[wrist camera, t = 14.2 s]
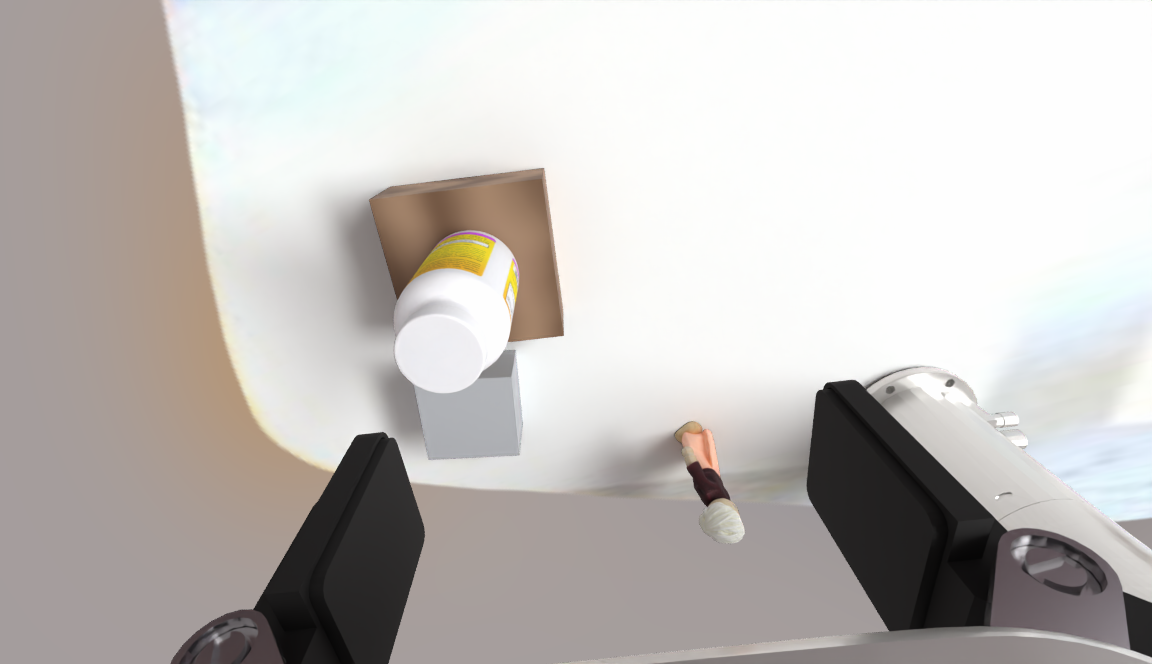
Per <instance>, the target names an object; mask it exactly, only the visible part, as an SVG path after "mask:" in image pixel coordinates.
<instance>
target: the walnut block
mask: <svg viewBox="0 0 1152 664" xmlns="http://www.w3.org/2000/svg"><path fill="white" fill-rule="evenodd" d="M369 202H370V205H371V209H372V212H373V216H374V219H375V223H376V226H377V230H378V233H379V237H380V241H381V244H382V248H383V251H384V255H385V258H386V262H387V265H388V269H389V272H390V276H391V280H392V283H393V287H394V290H395V294H396V297H397V301H398V299H399V297H400V295H401V293H402V292H403V290H404V289H405V287H406V286H407V284H408V283H409V282H410V280H411V279H412V278H413V276H414V275H415V273H416V272H417V271H418V269H419V268H420V266H421V265H422V264H423V262H424V261H425V259H426V258H427V257H428V255H429V254H430V253H431V251H432V250H433V249H434V247H435V246H436V245H437V244H438V243H439V242H440V241H441V240H443V239H444V238H445V237H447V236H449V235H451V234H453V233H456V232H460V231H466V230H475V231H481V232H485V233H488V234H490V235H492V236H494V237H496V238H498V239H499V240H500V241H502V242H503V243H504V244H505V245H506V246H507V247H508V248H509V250H510V251H511V252H512V254H513V256H514V258H515V260H516V262H517V265H518V270H519V286H518V291H517V297H516V302H515V307H514V313H513V318H512V324H511V330H510V335H509V339H508V342H513V341H522V340H531V339H539V338H548V337H557V336H564V328H563V306H562V298H561V291H560V283H559V276H558V268H557V261H556V253H555V246H554V239H553V231H552V224H551V216H550V209H549V201H548V194H547V186H546V179H545V171H544V168H541V169H533V170H525V171H516V172H508V173H500V174H492V175H483V176H475V177H467V178H459V179H451V180H442V181H434V182H426V183H418V184H409V185H401V186H393V187H389V188H388V189H386V190H384V191H383V192H381V193H379V194H378V195H376V196H374V197H373V198H371V199H369Z"/></svg>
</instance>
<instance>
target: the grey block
mask: <svg viewBox="0 0 1152 664" xmlns="http://www.w3.org/2000/svg"><path fill="white" fill-rule="evenodd" d="M414 389H415V394H416V399H417V404H418V409H419V414H420V419H421V424H422V429H423V434H424V439H425V444H426V449H427V454H428V459H429V460H436V459H456V458H476V457H497V456H517V455H520V445H521V436H522V426H523V421H522V410H521V400H520V390H519V379H518V369H517V359H516V350H505V351H503V353H502V354H501V356H500V357H499V358H498V359H497V360H496V361H495V362H494V363H493V364H492V365H491V366H489V367H488V368H487V369H485V370H483V371H482V373H481V374H480V376H479V377H478V378H477V380H476V381H475V382H474V383H473V384H471V385H470V386H469V387H467V388H465V389H463V390H460V391H457V392H453V393H434V392H430V391H427V390H424V389H422V388H419V387H417V386H416V385H414Z"/></svg>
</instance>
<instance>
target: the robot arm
mask: <svg viewBox="0 0 1152 664" xmlns="http://www.w3.org/2000/svg"><path fill="white" fill-rule="evenodd" d="M1018 423H1019V419H1018V417H1017V415H1016V414H1015V413H1014V412H1011V411H1010V412H1001V413H995V414H989V413H987V412H986V411H984V410H983V409H982V408H980V407H979V406H978V405H977V399H976V397H975V394H974V392H973V390H972V389H971V388H970V387H969V385H968V384H967V383H966V382H964V381H963V380H962V379H960V378H959V377H958V376H956V375H955V374H953V373H951V372H949V371H947V370H943V369H939V368H931V367H919V368H910V369H907V370H903V371H899V372H896V373H894V374H891V375H889V376H887V377H885V378H883V379H881V380H880V381H878V382H876V383H875V384H873V385H872V386H870V387H869V388H868V389H867V390H866V389H865V388H864V387H863V386H862V385H861V384H860V383H859V382H857V381H856V380H846V381H838V382H829V383H826V384H825V386H824V388H823V390H819V391H818V392H817V394H816V400H815V410H814V419H813V429H812V438H811V448H810V457H809V467H808V477H807V492H808V496H809V499H810V501H811V503H812V504H813V506H814V508H815V509H816V511H817V513H818V514H819V516H820V518H821V519H822V521H823V523H824V524H825V526H826V527H827V529H828V531H829V532H830V534H831V536H832V537H833V539H834V541H835V542H836V544H837V546H838V547H839V549H840V550H841V552H842V554H843V555H844V557H845V559H846V561H847V562H848V564H849V565H850V567H851V569H852V570H853V572H854V574H855V575H856V577H857V579H858V580H859V582H860V583H861V585H862V587H863V588H864V590H865V592H866V594H867V595H868V597H869V599H870V600H871V602H872V604H873V605H874V607H875V608H876V610H877V612H878V613H879V615H880V617H881V618H882V620H883V622H884V623H885V625H886V626H887V628H888V630H889V631H888V632H876V633H863V634H850V635H840V636H829V637H818V638H808V639H798V640H788V641H776V642H766V643H755V644H746V645H735V646H724V647H714V648H704V649H694V650H684V651H675V652H664V653H654V654H645V655H634V656H625V657H615V658H605V659H595V660H585V661H576V662H566V663H556V664H1152V550H1151V549H1149V548H1148V547H1147V546H1146V545H1144V544H1143V543H1142V542H1140V541H1139V540H1138V539H1136V538H1135V537H1134V536H1132V535H1131V534H1130V533H1128V532H1127V531H1126V530H1124V529H1123V528H1122V527H1120V526H1119V525H1118V524H1117V523H1115V522H1114V521H1113V520H1111V519H1110V518H1109V517H1108V516H1106V515H1105V514H1104V513H1103V512H1101V511H1100V510H1099V509H1097V508H1096V507H1095V506H1093V505H1092V504H1091V503H1090V502H1088V501H1087V500H1086V499H1085V498H1083V497H1082V496H1081V495H1079V494H1078V493H1077V492H1076V491H1074V490H1073V489H1072V488H1071V487H1069V486H1068V485H1067V484H1065V483H1064V482H1063V481H1062V480H1060V479H1059V478H1058V477H1057V476H1055V475H1054V474H1053V473H1051V472H1050V471H1049V470H1048V469H1046V468H1045V467H1044V466H1043V465H1041V464H1040V463H1039V462H1038V461H1036V460H1035V459H1034V458H1032V457H1031V456H1030V455H1029V454H1027V453H1026V452H1025V451H1024V450H1022V449H1025V448H1026V446H1027V439H1026V436H1025V434H1024V433H1023V432H1022V431H1020V430H1018V429H1014V430H1005V431H998V430H997V429H996V427H1000V428H1003V427H1012V426H1017V425H1018ZM424 533H425V531H424V526H423V522H422V519H421V516H420V513H419V510H418V507H417V503H416V500H415V497H414V494H413V491H412V488H411V485H410V482H409V479H408V476H407V472H406V469H405V466H404V463H403V460H402V457H401V454H400V451H399V448H398V445H397V442H396V440H395V439H394V438H388V436H387V435H386V433H384V432H380V433H371V434H362V435H357V436H356V437H355V438H354V440H353V442H352V443H351V445H350V447H349V449H348V450H347V452H346V454H345V456H344V457H343V459H342V461H341V462H340V464H339V466H338V468H337V469H336V471H335V473H334V475H333V476H332V478H331V480H330V482H329V483H328V485H327V487H326V489H325V490H324V492H323V494H322V495H321V497H320V499H319V501H318V502H317V503H316V504H315V505H314V506H313V508H312V510H311V511H310V513H309V515H308V517H307V518H306V520H305V522H304V523H303V525H302V527H301V529H300V530H299V532H298V534H297V536H296V537H295V539H294V540H293V542H292V544H291V546H290V548H289V550H288V551H287V553H286V554H285V556H284V558H283V560H282V561H281V563H280V565H279V566H278V568H277V570H276V571H275V573H274V575H273V577H272V579H271V580H270V582H269V583H268V585H267V587H266V589H265V590H264V592H263V594H262V596H261V597H260V599H259V601H258V602H257V604H256V606H255V608H254V609H253V610H252V609H250V610H238V611H234V612H231V613H227V614H225V615H223V616H221V617H219V618H217V619H215V620H213V621H211V622H209V623H208V624H207V625H205V626H204V627H202V628H201V629H200V630H198V631H197V632H196V633H195V634H194V635H192V636H191V637H190V638H189V639H188V640H187V641H186V642H185V643H184V644H183V645H182V647H181V648H180V649H179V651H178V652H177V653H176V655H175V656H174V657H173V659H172V661H171V664H388V663H389V659H390V656H391V652H392V649H393V646H394V642H395V639H396V635H397V632H398V629H399V625H400V622H401V619H402V615H403V612H404V608H405V605H406V602H407V598H408V595H409V591H410V588H411V585H412V581H413V578H414V574H415V571H416V567H417V564H418V561H419V557H420V554H421V550H422V547H423V543H424V537H425V534H424Z"/></svg>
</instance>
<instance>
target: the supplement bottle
mask: <svg viewBox="0 0 1152 664" xmlns="http://www.w3.org/2000/svg"><path fill="white" fill-rule="evenodd" d="M518 286H519V270H518V265H517V262H516V260H515V258H514V256H513V254H512V252H511V251H510V250H509V248H508V247H507V246H506V245H505V244H504V243H503V242H502V241H500V240H499V239H498V238H496V237H494V236H492V235H490V234H488V233H485V232H481V231H475V230H466V231H460V232H456V233H453V234H451V235H449V236H447V237H445V238H444V239H443V240H441V241H440V242H439V243H438V244H437V245H436V246H435V247H434V249H433V250H432V251H431V253H430V254H429V255H428V257H427V258H426V259H425V261H424V262H423V264H422V265H421V266H420V268H419V269H418V271H417V272H416V273H415V275H414V276H413V278H412V279H411V280H410V282H409V283H408V284H407V286H406V287H405V289H404V290H403V292H402V293H401V295H400V297H399V299H398V301H397V303H396V306H395V310H394V317H393V323H394V331H395V335H396V339H395V343H394V357H395V361H396V363H397V366H398V368H399V369H400V371H401V372H402V374H403V375H404V376H405V377H406V378H407V379H408V380H409V381H410V382H411V383H413V384H414V385H416V386H417V387H419V388H422V389H424V390H427V391H430V392H434V393H453V392H457V391H460V390H463V389H465V388H467V387H469V386H470V385H471V384H473V383H474V382H475V381H476V380H477V378H478V377H479V376H480V374H481V373H482V371H483V370H485V369H487V368H488V367H489V366H491V365H492V364H493V363H494V362H495V361H496V360H497V359H498V358H499V357H500V356H501V354H502V353H503V351H504V349H505V347H506V345H507V342H508V339H509V335H510V330H511V324H512V318H513V313H514V307H515V302H516V297H517V291H518Z"/></svg>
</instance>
